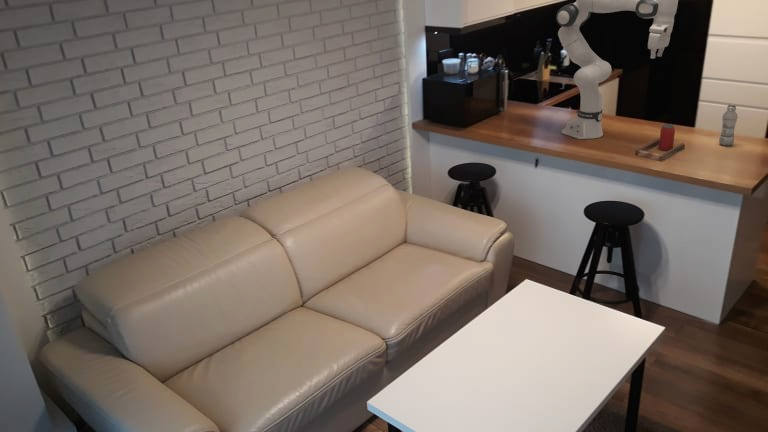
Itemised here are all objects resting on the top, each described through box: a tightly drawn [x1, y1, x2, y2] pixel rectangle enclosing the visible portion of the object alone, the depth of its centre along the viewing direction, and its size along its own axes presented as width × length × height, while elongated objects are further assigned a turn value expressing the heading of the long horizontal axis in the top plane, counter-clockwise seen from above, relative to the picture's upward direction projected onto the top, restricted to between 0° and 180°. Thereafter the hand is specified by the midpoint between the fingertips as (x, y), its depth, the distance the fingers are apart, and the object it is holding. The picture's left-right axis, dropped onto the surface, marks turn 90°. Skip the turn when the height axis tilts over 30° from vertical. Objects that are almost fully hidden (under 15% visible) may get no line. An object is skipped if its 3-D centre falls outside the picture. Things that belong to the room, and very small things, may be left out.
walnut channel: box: [635, 138, 686, 162], centre depth 305 cm, size 14×22×2 cm, turn 129°
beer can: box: [658, 123, 676, 152], centre depth 306 cm, size 7×7×12 cm
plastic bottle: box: [718, 104, 738, 146], centre depth 301 cm, size 6×7×20 cm
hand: (655, 57), depth 294 cm, fingers open, 8 cm apart
